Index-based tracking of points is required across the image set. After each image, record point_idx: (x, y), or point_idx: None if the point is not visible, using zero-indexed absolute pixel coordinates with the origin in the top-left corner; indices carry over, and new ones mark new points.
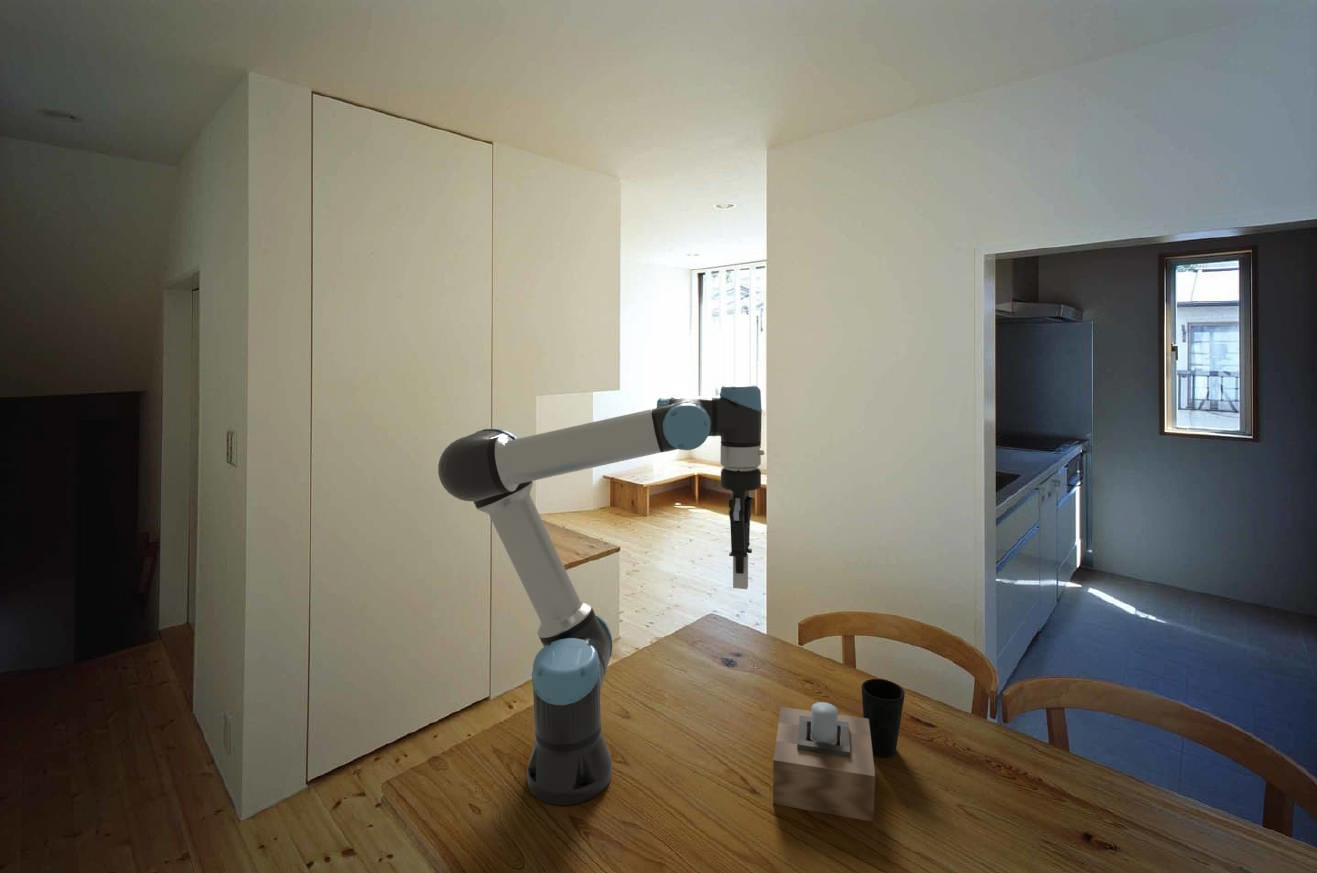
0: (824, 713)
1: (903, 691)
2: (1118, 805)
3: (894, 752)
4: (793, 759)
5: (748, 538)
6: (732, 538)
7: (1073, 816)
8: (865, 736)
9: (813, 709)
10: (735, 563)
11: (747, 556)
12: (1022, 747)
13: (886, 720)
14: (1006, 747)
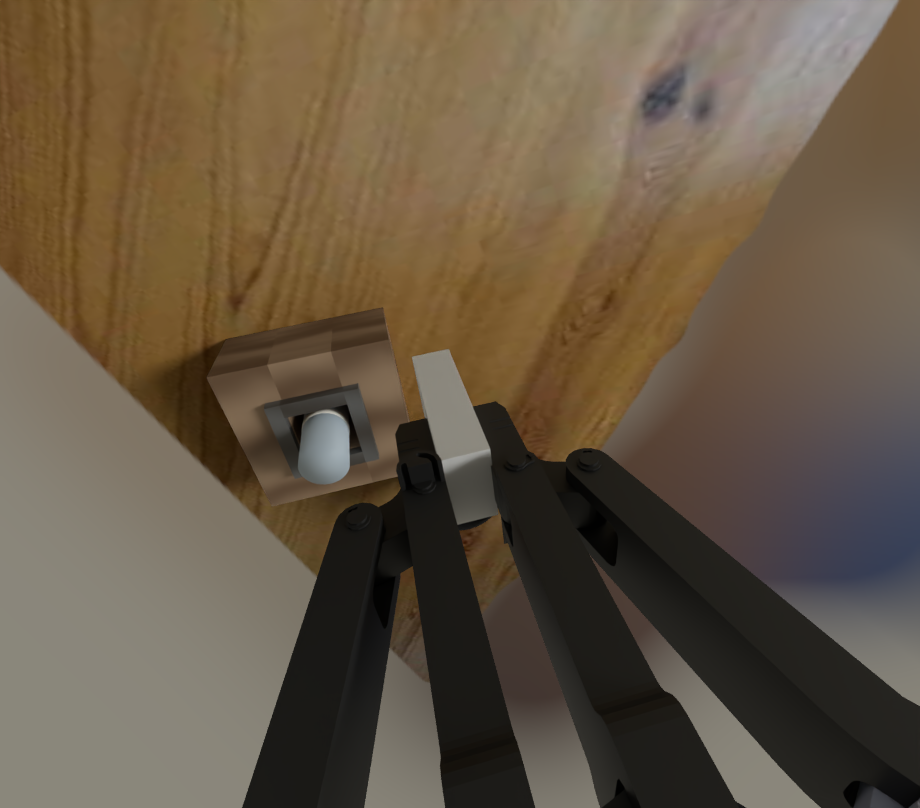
0: (309, 469)
1: (470, 528)
2: None
3: None
4: (232, 405)
5: (594, 557)
6: (293, 668)
7: (407, 593)
8: (366, 477)
9: (312, 450)
10: (433, 441)
11: (466, 518)
12: (511, 555)
13: None
14: (505, 544)
